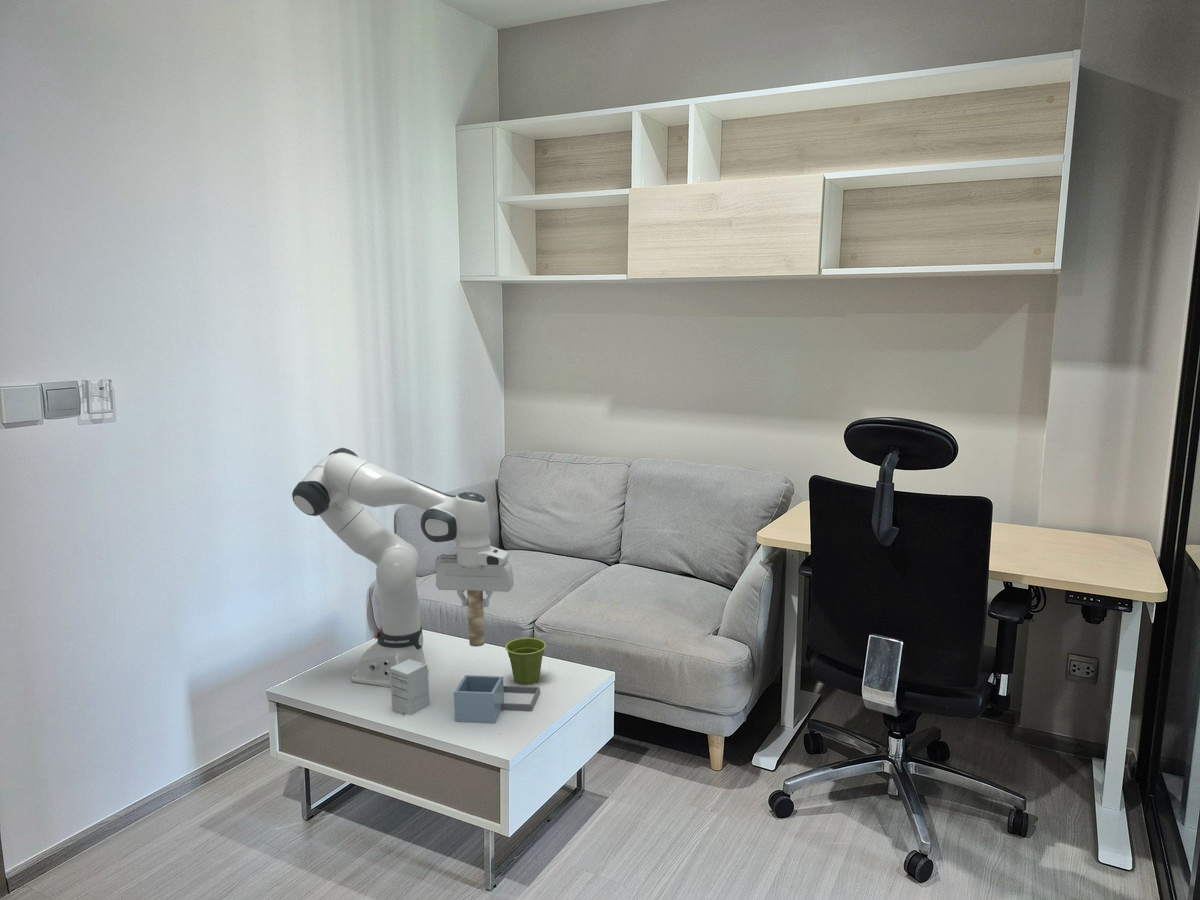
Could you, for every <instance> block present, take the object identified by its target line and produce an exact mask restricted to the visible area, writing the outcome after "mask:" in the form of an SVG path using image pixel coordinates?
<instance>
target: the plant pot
mask: <svg viewBox="0 0 1200 900" xmlns="http://www.w3.org/2000/svg"><path fill="white" fill-rule="evenodd" d="M504 646H505V647H504V648H505V650H506V651H507V654H508V658H509V661H510V662H509V663H510V666H511V670H512V676H513V680H514V683H516V684H518V685H521V686H523V685H524V686H526V685H527V686H528V685H534V684H537V683H539V681H540V678H541V677H540V676H541V670H542V669H541V668H542V661H543V656H544V652H545V649H546V648H547V643H546V641H544V640H542V639H539V638H534V637H520V638H515V639H513V640H510V641H508V642H507V643H506V644H505V645H504Z"/></svg>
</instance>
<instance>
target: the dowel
mask: <svg viewBox="0 0 1200 900" xmlns="http://www.w3.org/2000/svg"><path fill="white" fill-rule="evenodd" d="M466 593H467V596H466V597H467V598H468V606H467V613H468V615H467V616H468V617H467V618H468V639H469V646H470V647H474V648H475V647H482V646H484V645H485V644H486V642H485V640H486V639H485V616H484V612H485V611H484V607H482V600H483V599H484V591H467V592H466Z"/></svg>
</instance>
